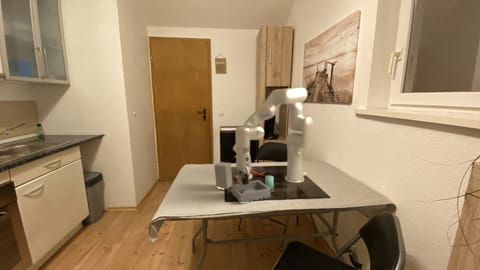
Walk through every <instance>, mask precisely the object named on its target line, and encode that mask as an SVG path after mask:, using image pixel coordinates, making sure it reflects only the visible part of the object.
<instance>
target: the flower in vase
mask: <svg viewBox="0 0 480 270" xmlns="http://www.w3.org/2000/svg"><path fill="white" fill-rule="evenodd" d="M232 150H233V152H235V153H236V143H235V144H234V145H233V147H232ZM236 156H237V154H236V155H234V158H236ZM245 171H246V170H245ZM235 178H236V179H237V174H236V176H235ZM251 179H253V174H252V173H251V172H250V174H249V181H250V180H251Z"/></svg>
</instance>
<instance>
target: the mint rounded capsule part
mask: <svg viewBox="0 0 480 270" xmlns="http://www.w3.org/2000/svg"><path fill="white" fill-rule="evenodd" d="M264 180H265V181H264V184H265V185H266V186H268V187H269V188H271V189H272V190H274V183H275V182H274V176H273V175H265V178H264Z"/></svg>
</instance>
